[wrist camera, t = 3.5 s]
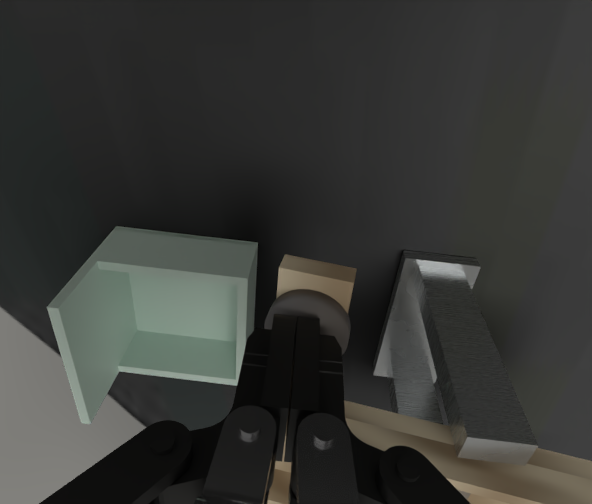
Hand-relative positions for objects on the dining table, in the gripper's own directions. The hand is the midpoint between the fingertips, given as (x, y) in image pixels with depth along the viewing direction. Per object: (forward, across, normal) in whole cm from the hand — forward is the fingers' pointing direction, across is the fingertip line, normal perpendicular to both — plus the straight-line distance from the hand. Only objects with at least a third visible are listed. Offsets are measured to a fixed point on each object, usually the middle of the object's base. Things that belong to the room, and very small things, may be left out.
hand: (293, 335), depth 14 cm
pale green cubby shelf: (+10, +6, +7) cm, 14 cm away
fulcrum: (+10, -8, +7) cm, 14 cm away
